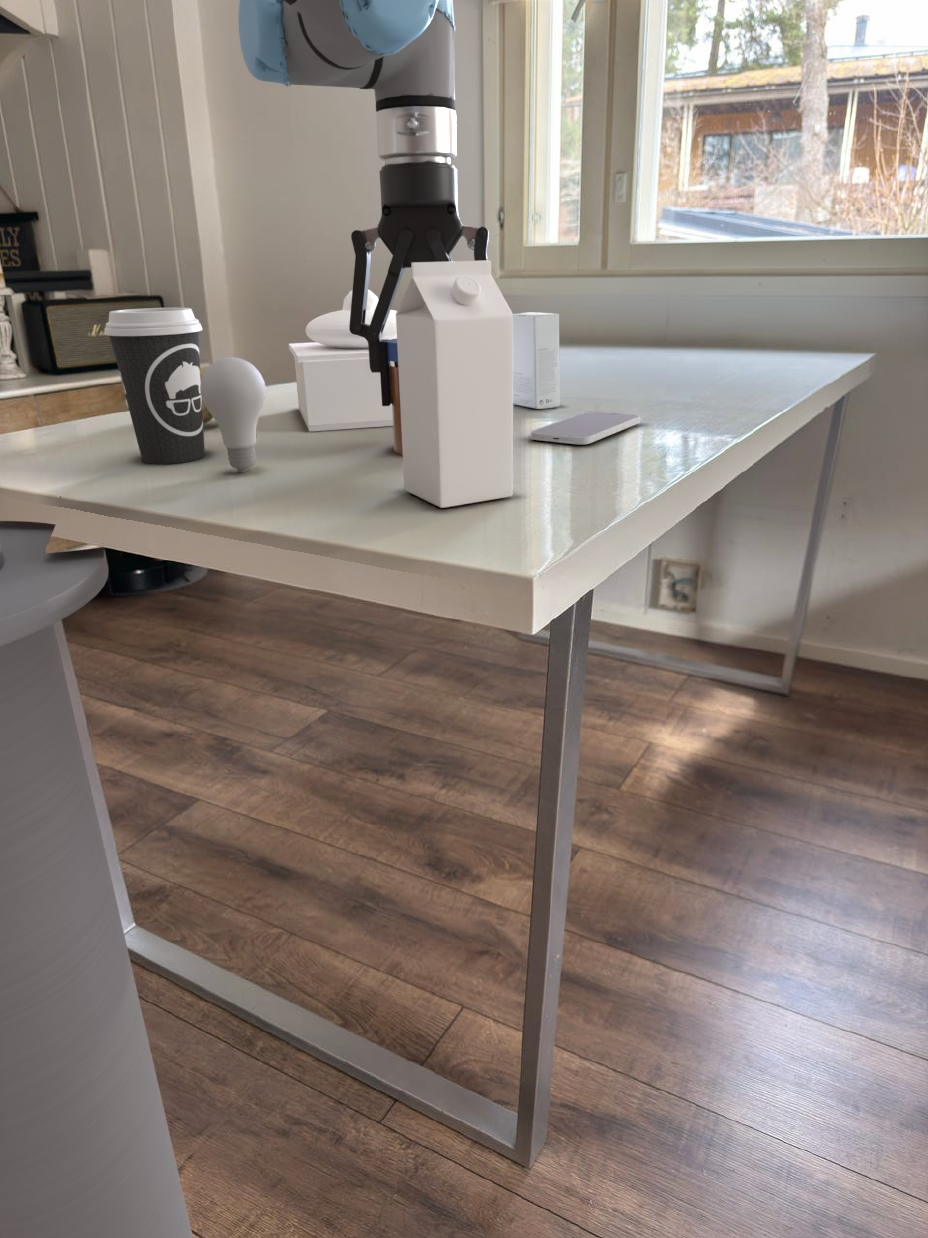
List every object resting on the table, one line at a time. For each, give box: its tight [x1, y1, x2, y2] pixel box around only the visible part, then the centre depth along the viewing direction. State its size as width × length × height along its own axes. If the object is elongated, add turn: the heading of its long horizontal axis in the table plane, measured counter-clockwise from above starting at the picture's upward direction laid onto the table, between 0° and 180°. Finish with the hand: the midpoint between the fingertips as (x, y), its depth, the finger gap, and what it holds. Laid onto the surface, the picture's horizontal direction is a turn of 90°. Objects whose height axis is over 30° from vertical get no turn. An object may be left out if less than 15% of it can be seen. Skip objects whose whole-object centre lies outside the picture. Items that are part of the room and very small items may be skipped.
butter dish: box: [288, 289, 398, 432], centre depth 112 cm, size 18×18×16 cm
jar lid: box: [387, 338, 398, 362], centre depth 90 cm, size 8×8×2 cm
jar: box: [390, 362, 403, 456], centre depth 92 cm, size 8×8×11 cm
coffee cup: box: [103, 307, 206, 465], centre depth 90 cm, size 10×10×15 cm
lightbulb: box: [200, 356, 267, 473], centre depth 84 cm, size 6×6×11 cm
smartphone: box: [530, 410, 641, 445], centre depth 100 cm, size 7×1×15 cm
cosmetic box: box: [513, 311, 561, 410], centre depth 116 cm, size 6×4×12 cm
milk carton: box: [396, 259, 514, 509], centre depth 72 cm, size 7×7×19 cm
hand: (427, 403), depth 92 cm, fingers closed on jar lid, 8 cm apart
